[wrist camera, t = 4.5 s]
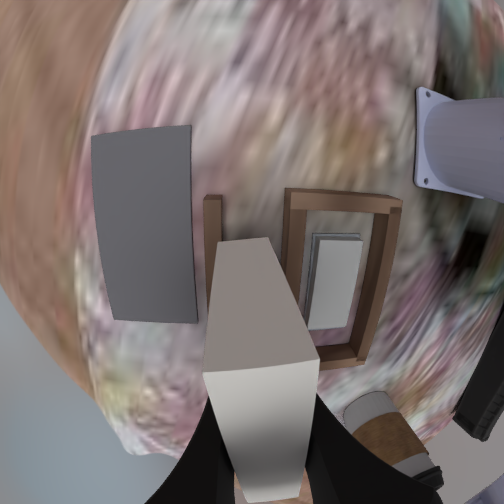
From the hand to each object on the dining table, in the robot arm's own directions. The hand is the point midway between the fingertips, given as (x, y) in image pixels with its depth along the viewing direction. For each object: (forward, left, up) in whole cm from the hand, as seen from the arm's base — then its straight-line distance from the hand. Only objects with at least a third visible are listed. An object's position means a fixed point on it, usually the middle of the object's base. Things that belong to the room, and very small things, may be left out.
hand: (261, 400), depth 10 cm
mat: (+7, -4, -10) cm, 13 cm away
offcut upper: (-6, 0, -10) cm, 12 cm away
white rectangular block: (0, 0, -5) cm, 5 cm away
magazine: (-36, +13, -11) cm, 40 cm away
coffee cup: (-14, +17, -11) cm, 25 cm away
